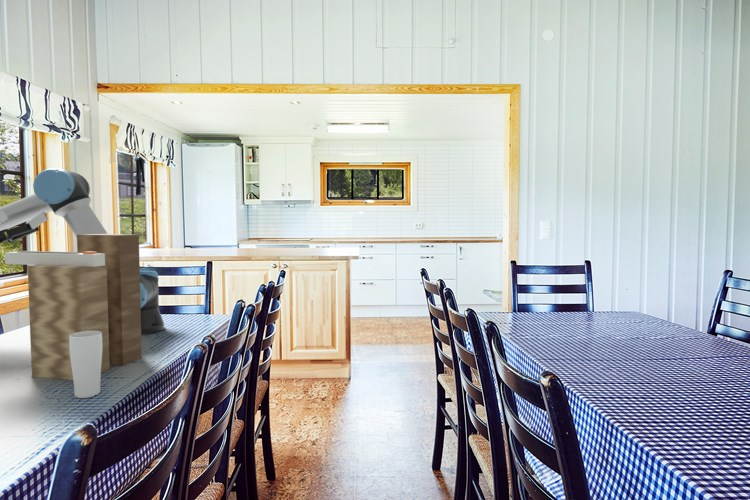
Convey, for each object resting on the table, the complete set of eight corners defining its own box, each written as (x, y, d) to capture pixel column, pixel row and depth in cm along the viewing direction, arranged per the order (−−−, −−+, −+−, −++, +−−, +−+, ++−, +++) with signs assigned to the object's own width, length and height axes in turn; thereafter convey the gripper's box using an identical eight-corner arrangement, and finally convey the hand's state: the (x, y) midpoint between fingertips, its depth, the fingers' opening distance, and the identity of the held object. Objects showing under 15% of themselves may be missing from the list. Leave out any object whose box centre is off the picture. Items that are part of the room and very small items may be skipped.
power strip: (5, 264, 123) (4, 250, 123) (17, 262, 127) (17, 249, 127) (94, 266, 119) (94, 252, 118) (105, 265, 122) (104, 251, 122)
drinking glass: (80, 390, 112) (78, 330, 111) (109, 389, 112) (107, 330, 111) (64, 400, 105) (62, 337, 104) (94, 400, 106) (92, 337, 105)
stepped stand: (31, 376, 121) (26, 235, 119) (93, 354, 142) (89, 233, 139) (87, 381, 118) (82, 236, 116) (141, 357, 139) (138, 234, 136)
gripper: (20, 255, 156) (65, 225, 153) (-60, 261, 132) (-9, 225, 128) (10, 236, 157) (55, 206, 153) (-72, 239, 132) (-21, 202, 128)
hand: (26, 215), depth 141 cm, fingers open, 13 cm apart
